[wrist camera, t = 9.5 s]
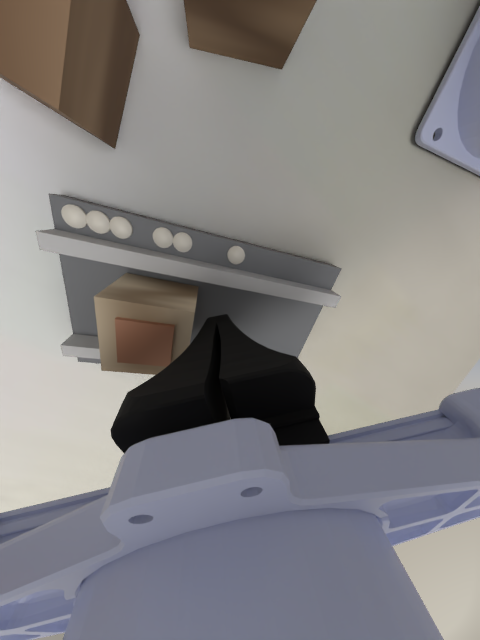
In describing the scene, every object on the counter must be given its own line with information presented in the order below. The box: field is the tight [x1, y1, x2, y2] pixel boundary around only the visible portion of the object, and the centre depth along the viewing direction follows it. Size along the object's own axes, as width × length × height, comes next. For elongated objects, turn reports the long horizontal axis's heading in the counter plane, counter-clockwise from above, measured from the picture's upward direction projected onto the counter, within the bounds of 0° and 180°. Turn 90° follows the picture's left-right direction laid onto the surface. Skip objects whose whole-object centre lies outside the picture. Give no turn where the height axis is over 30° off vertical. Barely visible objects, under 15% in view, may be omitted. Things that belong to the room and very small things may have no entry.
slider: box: [94, 273, 199, 375], centre depth 10 cm, size 4×4×4 cm
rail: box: [36, 194, 341, 363], centre depth 13 cm, size 16×10×2 cm, turn 76°
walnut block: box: [0, 0, 140, 148], centre depth 6 cm, size 4×4×4 cm
